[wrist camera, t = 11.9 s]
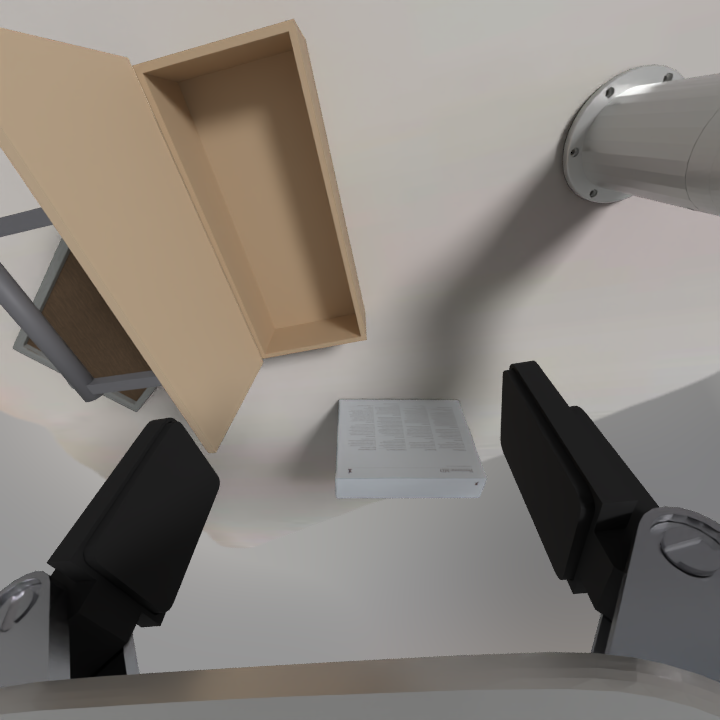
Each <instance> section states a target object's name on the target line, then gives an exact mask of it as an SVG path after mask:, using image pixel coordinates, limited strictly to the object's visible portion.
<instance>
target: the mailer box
mask: <svg viewBox="0 0 720 720" xmlns="http://www.w3.org/2000/svg"><path fill="white" fill-rule="evenodd" d="M132 67H133V69H134V71H135V74H136V76H137V78H138V80H139V83H140V85H141V87H142V89H143V92H144V94H145V96H146V98H147V101H148V103H149V105H150V107H151V110H152V112H153V114H154V116H155V119H156V121H157V123H158V125H159V128H160V130H161V132H162V134H163V137H164V139H165V141H166V143H167V146H168V148H169V150H170V152H171V155H172V157H173V159H174V161H175V164H176V166H177V168H178V170H179V173H180V175H181V177H182V179H183V182H184V184H185V186H186V188H187V191H188V193H189V195H190V197H191V200H192V202H193V204H194V206H195V209H196V211H197V213H198V215H199V218H200V220H201V222H202V224H203V227H204V229H205V231H206V233H207V236H208V238H209V240H210V242H211V245H212V247H213V249H214V251H215V254H216V256H217V258H218V260H219V263H220V265H221V267H222V269H223V272H224V274H225V276H226V278H227V281H228V283H229V285H230V287H231V290H232V292H233V294H234V296H235V299H236V301H237V303H238V305H239V308H240V310H241V312H242V314H243V317H244V319H245V321H246V323H247V326H248V328H249V330H250V332H251V335H252V337H253V339H254V341H255V344H256V346H257V348H258V350H259V353H260V355H261V357H262V359H264V358H269V357H275V356H280V355H286V354H291V353H297V352H302V351H308V350H313V349H319V348H324V347H330V346H335V345H341V344H346V343H352V342H357V341H363V340H367V337H366V317H365V309H364V305H363V300H362V296H361V291H360V287H359V282H358V277H357V273H356V268H355V264H354V259H353V255H352V250H351V245H350V241H349V236H348V232H347V227H346V223H345V218H344V214H343V209H342V204H341V200H340V195H339V191H338V186H337V182H336V177H335V172H334V168H333V163H332V159H331V154H330V150H329V145H328V140H327V136H326V131H325V127H324V122H323V118H322V113H321V108H320V104H319V99H318V95H317V90H316V86H315V81H314V76H313V72H312V67H311V63H310V58H309V54H308V49H307V45H306V40H305V38H304V36H303V35H302V33H301V31H300V29H299V27H298V26H297V24H296V22H295V20H294V19H292V20H288V21H285V22H281V23H278V24H274V25H271V26H267V27H264V28H261V29H257V30H254V31H250V32H247V33H243V34H240V35H236V36H233V37H230V38H226V39H223V40H219V41H216V42H212V43H209V44H206V45H202V46H199V47H195V48H192V49H188V50H185V51H181V52H178V53H175V54H171V55H168V56H164V57H161V58H157V59H154V60H150V61H147V62H144V63H140V64H137V65H133V66H132Z"/></svg>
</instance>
